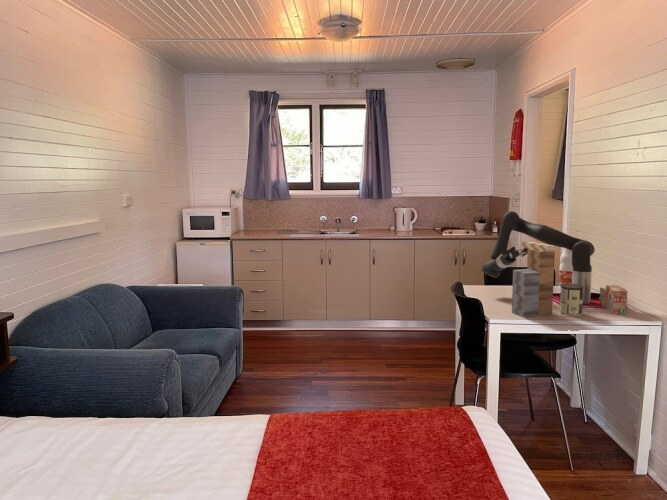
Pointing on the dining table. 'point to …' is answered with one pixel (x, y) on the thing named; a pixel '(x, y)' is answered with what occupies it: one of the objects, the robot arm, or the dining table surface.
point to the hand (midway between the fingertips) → (521, 247)
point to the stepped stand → (534, 285)
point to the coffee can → (571, 299)
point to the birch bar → (538, 246)
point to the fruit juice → (565, 268)
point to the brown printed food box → (614, 298)
